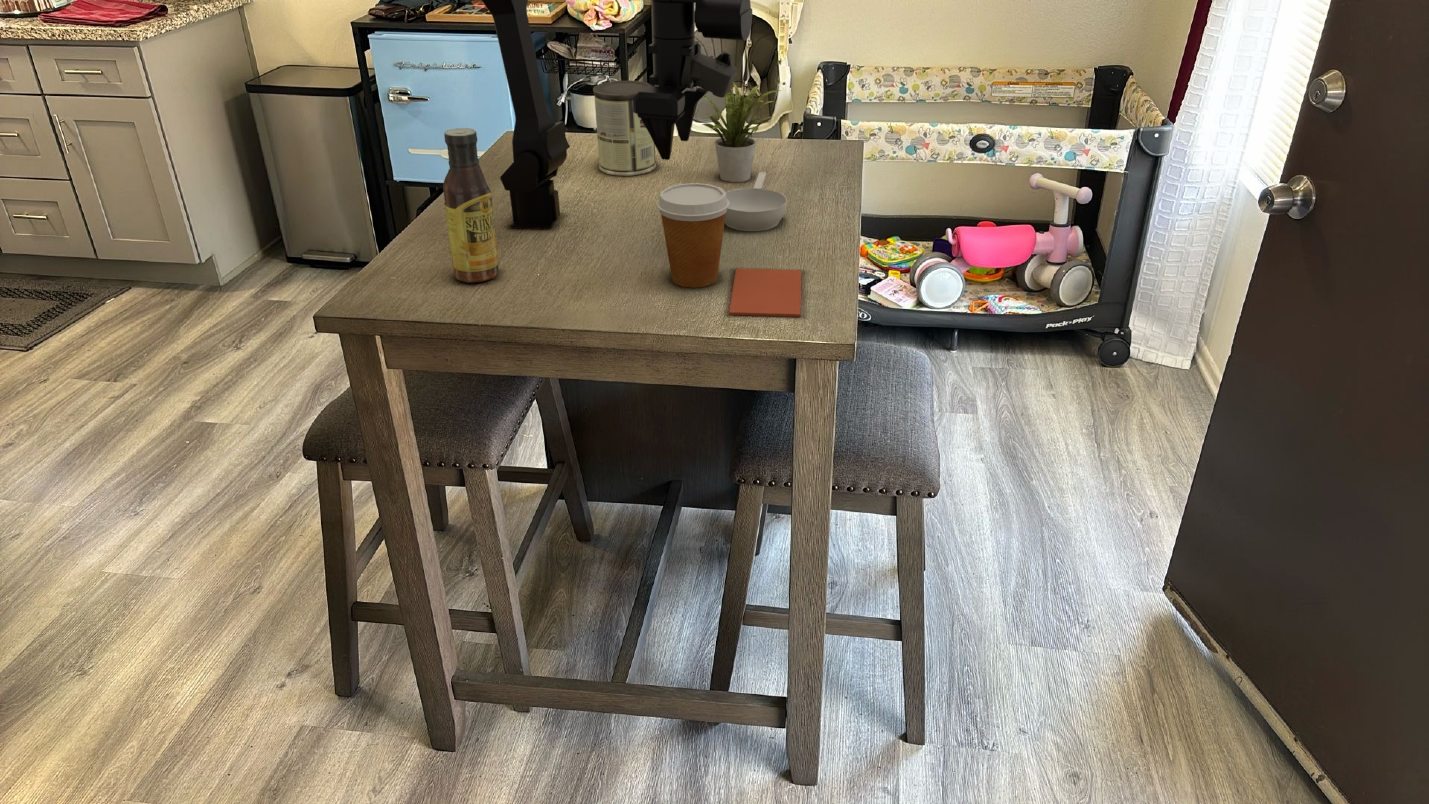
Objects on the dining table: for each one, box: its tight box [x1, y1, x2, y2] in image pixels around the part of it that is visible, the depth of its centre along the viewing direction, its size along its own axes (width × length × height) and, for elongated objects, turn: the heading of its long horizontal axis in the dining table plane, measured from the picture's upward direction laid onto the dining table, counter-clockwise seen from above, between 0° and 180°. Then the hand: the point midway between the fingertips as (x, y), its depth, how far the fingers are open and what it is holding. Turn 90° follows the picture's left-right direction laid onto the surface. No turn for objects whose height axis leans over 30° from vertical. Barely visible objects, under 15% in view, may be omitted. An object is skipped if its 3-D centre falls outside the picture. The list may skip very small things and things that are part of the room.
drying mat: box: [728, 268, 802, 318], centre depth 131 cm, size 9×14×1 cm, turn 175°
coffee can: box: [592, 80, 657, 177], centre depth 173 cm, size 10×10×14 cm
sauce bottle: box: [442, 127, 499, 284], centre depth 131 cm, size 6×6×20 cm
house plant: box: [701, 81, 782, 183], centre depth 167 cm, size 14×14×16 cm
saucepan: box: [724, 171, 788, 232], centre depth 156 cm, size 11×18×4 cm, turn 170°
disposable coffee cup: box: [656, 182, 729, 289], centre depth 132 cm, size 10×10×12 cm
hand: (675, 149), depth 141 cm, fingers open, 9 cm apart
